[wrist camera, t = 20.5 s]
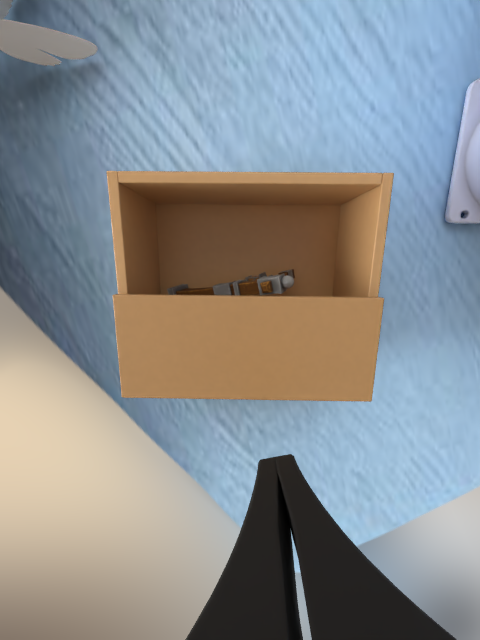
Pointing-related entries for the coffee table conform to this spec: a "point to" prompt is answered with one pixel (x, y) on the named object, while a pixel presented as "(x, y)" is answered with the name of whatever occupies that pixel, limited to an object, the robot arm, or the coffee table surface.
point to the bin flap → (247, 346)
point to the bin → (249, 229)
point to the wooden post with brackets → (243, 286)
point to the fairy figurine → (39, 41)
